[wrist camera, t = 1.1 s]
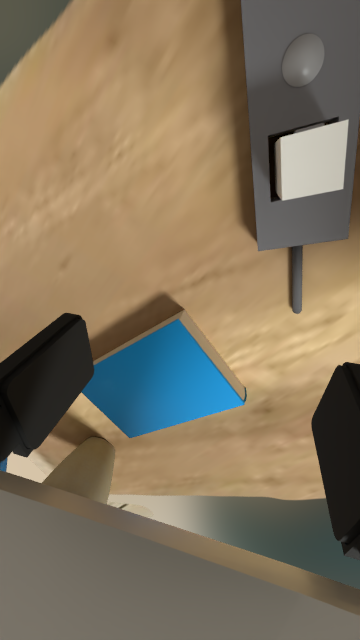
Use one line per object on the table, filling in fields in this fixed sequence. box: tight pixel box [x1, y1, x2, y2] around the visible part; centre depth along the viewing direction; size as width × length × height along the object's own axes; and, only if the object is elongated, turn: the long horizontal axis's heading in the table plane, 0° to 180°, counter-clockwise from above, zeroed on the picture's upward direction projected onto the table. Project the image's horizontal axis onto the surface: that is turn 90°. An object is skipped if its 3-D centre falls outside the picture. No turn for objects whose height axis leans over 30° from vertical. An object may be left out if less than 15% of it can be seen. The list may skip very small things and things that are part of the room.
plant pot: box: [42, 437, 115, 504], centre depth 54 cm, size 15×15×16 cm
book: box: [82, 309, 247, 438], centre depth 43 cm, size 17×4×25 cm
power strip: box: [241, 0, 360, 314], centre depth 23 cm, size 33×8×4 cm, turn 13°
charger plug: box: [274, 119, 349, 201], centre depth 21 cm, size 4×4×8 cm
